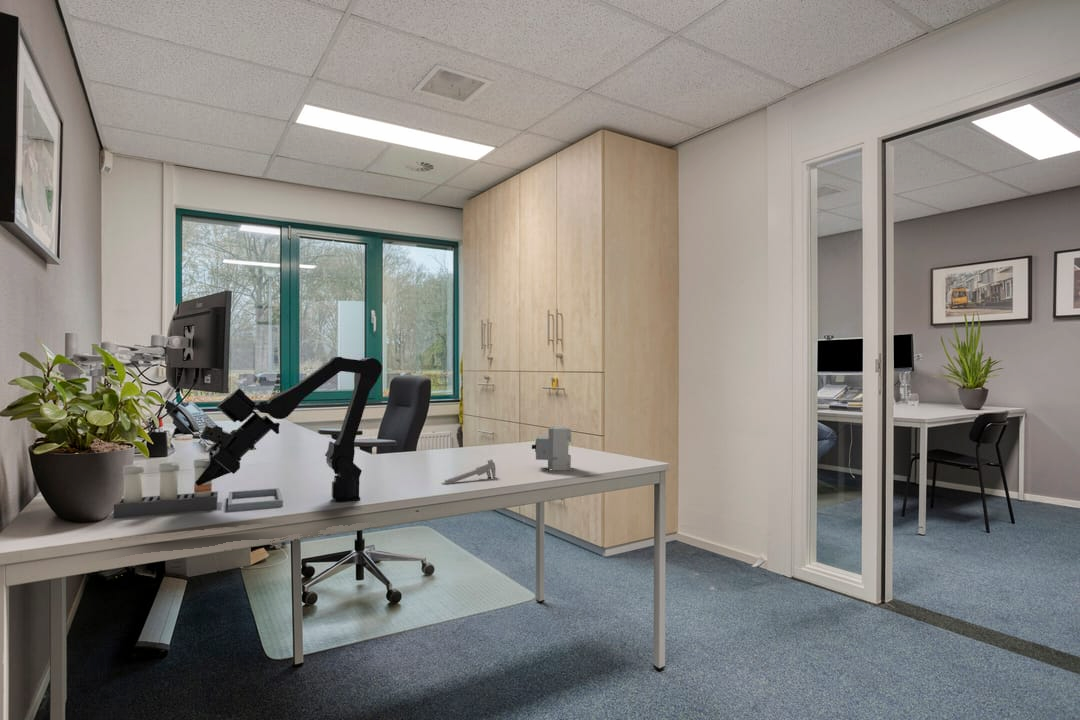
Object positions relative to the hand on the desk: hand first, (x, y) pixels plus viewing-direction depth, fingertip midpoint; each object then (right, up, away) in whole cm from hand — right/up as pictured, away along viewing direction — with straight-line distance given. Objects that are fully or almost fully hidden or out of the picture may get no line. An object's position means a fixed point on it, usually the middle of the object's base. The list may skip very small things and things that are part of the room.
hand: (196, 482), depth 139 cm
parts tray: (+11, -8, +7) cm, 15 cm away
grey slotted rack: (-5, -7, -3) cm, 9 cm away
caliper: (+60, -10, +47) cm, 77 cm away
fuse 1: (-11, -6, -6) cm, 14 cm away
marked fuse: (+1, -6, +1) cm, 6 cm away
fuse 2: (-5, -6, -3) cm, 8 cm away
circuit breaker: (+87, -10, +71) cm, 113 cm away
